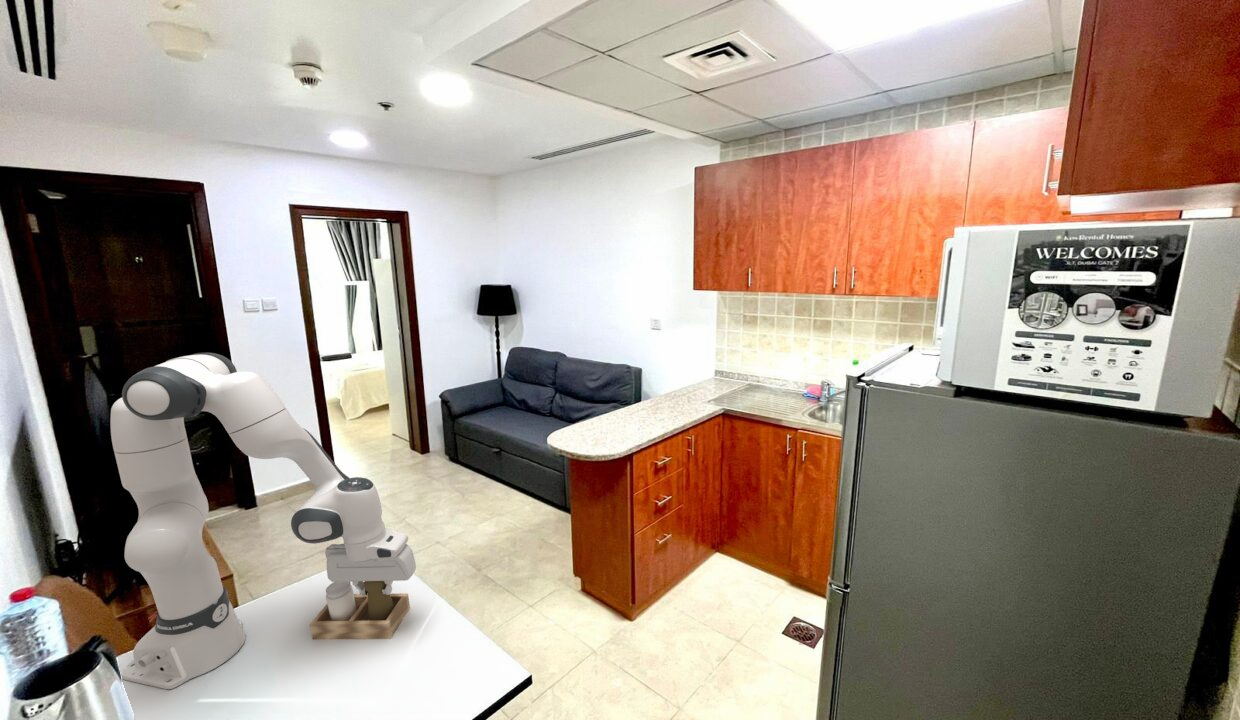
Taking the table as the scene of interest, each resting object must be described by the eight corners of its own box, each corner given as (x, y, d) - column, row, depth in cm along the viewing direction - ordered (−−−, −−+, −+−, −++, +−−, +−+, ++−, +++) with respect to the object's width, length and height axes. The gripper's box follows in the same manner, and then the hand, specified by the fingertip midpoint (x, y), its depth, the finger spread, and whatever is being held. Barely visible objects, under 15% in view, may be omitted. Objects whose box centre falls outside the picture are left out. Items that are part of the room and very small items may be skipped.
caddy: (313, 642, 113) (309, 624, 112) (338, 610, 122) (335, 594, 121) (391, 641, 112) (387, 623, 111) (410, 610, 122) (407, 593, 121)
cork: (385, 624, 114) (377, 585, 111) (362, 622, 115) (354, 583, 112) (400, 606, 119) (393, 568, 117) (379, 603, 120) (372, 566, 118)
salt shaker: (327, 631, 115) (319, 594, 112) (341, 614, 120) (334, 578, 118) (350, 631, 114) (342, 594, 112) (362, 614, 120) (355, 578, 117)
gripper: (315, 553, 109) (326, 603, 112) (401, 550, 108) (410, 602, 112) (332, 536, 115) (342, 585, 119) (414, 534, 114) (422, 583, 118)
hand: (376, 593), depth 115 cm, fingers closed on cork, 4 cm apart
